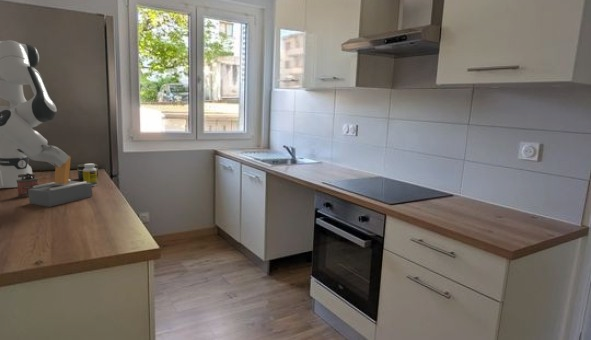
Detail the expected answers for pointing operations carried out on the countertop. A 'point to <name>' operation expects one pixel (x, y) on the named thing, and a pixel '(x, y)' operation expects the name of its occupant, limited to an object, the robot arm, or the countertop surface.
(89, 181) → the pill bottle
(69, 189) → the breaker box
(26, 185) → the lighter
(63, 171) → the lever
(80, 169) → the jar
